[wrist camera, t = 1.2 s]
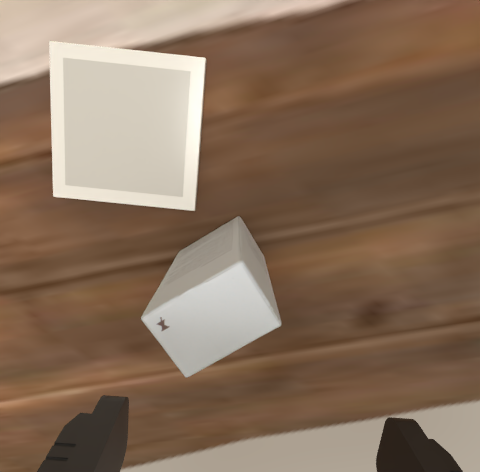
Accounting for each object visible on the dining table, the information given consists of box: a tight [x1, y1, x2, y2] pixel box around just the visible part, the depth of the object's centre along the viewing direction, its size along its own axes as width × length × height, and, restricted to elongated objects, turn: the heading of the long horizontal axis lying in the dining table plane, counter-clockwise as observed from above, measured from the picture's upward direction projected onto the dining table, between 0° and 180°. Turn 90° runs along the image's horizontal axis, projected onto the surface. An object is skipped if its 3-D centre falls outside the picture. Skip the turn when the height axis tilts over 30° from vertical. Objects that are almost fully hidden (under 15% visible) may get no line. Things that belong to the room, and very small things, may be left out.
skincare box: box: [141, 216, 281, 377], centre depth 23 cm, size 6×4×12 cm
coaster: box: [49, 41, 207, 211], centre depth 26 cm, size 11×11×1 cm
